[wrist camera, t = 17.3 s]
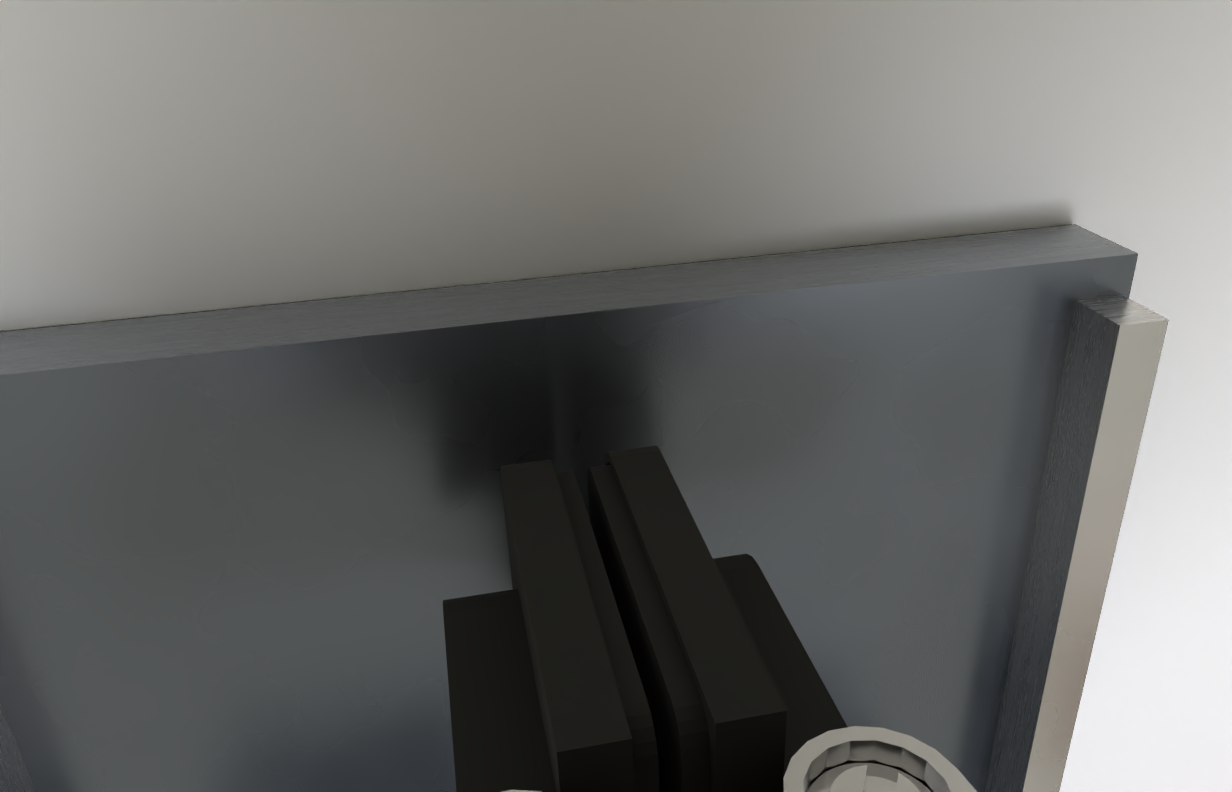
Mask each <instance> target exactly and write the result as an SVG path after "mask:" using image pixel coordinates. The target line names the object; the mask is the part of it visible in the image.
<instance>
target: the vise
mask: <svg viewBox="0 0 1232 792" xmlns="http://www.w3.org/2000/svg"><path fill="white" fill-rule="evenodd" d="M1137 256H1138V253H1136V252H1134V251H1131V250H1129V249H1127V248H1125V247H1123V246H1121V245H1118V244H1116V243H1114V242H1112V241H1110V240H1108V239H1106V238H1103V237H1101V236H1099V235H1097V234H1095V233H1093V232H1091V231H1088V230H1086V229H1084V228H1082V227H1080V226H1078V225H1076V224H1074V225H1064V226H1054V227H1044V228H1034V229H1024V230H1015V231H1005V232H995V233H985V234H975V235H965V236H955V237H945V238H935V239H925V240H915V241H905V242H895V243H885V244H875V245H865V246H855V247H845V248H835V249H825V250H815V251H805V252H795V253H785V254H775V255H765V256H755V257H745V258H735V259H725V260H715V261H705V262H695V263H685V264H675V265H665V266H655V267H645V268H635V269H625V270H615V271H605V272H595V273H585V274H575V275H565V276H555V277H545V278H535V279H525V280H515V281H505V282H495V283H485V284H475V285H465V286H455V287H445V288H435V289H425V290H415V291H405V292H395V293H385V294H375V295H365V296H355V297H345V298H335V299H325V300H315V301H305V302H295V303H285V304H275V305H265V306H255V307H246V308H236V309H226V310H216V311H206V312H196V313H186V314H176V315H166V316H156V317H146V318H136V319H126V320H116V321H106V322H96V323H86V324H76V325H66V326H56V327H46V328H36V329H26V330H16V331H6V332H0V792H456V780H455V766H454V753H453V739H452V726H451V712H450V699H449V685H448V672H447V658H446V645H445V631H444V618H443V600H448V599H454V598H461V597H467V596H474V595H480V594H487V593H493V592H500V591H506V590H513V589H512V579H511V569H510V560H509V550H508V541H507V531H506V522H505V512H504V503H503V493H502V483H501V471H500V466H506V465H513V464H521V463H528V462H535V461H543V460H550V459H551V460H552V462H553V465H554V468H555V472H562V471H570V470H573V471H574V473H575V476H576V479H577V482H578V485H579V488H580V492H581V495H582V498H583V501H584V504H585V507H586V510H587V513H588V517H589V520H590V513H589V496H588V476H587V475H588V468H592V467H599V466H604V461H605V454H606V452H610V451H618V450H625V449H633V448H640V447H648V446H658V448H659V449H660V451H661V453H662V455H663V457H664V459H665V461H666V463H667V465H668V467H669V469H670V472H671V474H672V476H673V478H674V480H675V482H676V484H677V486H678V488H679V490H680V492H681V494H682V496H683V498H684V500H685V502H686V504H687V506H688V508H689V511H690V513H691V515H692V517H693V519H694V521H695V523H696V525H697V527H698V529H699V531H700V533H701V535H702V537H703V539H704V541H705V543H706V545H707V547H708V550H709V552H710V554H711V556H712V558H713V559H714V558H720V557H727V556H733V555H740V554H746V553H747V554H749V555H751V556H752V557H753V558H754V559H755V561H756V562H757V564H758V565H759V567H760V569H761V571H762V572H763V574H764V576H765V578H766V580H767V581H768V583H769V585H770V587H771V589H772V591H773V592H774V594H775V596H776V598H777V600H778V601H779V603H780V605H781V607H782V609H783V610H784V612H785V614H786V616H787V618H788V620H789V621H790V623H791V625H792V627H793V629H794V630H795V632H796V634H797V636H798V638H799V640H800V641H801V643H802V645H803V647H804V649H805V650H806V652H807V654H808V656H809V658H810V660H811V661H812V663H813V665H814V667H815V669H816V670H817V672H818V674H819V676H820V678H821V679H822V681H823V683H824V685H825V687H826V689H827V690H828V692H829V694H830V696H831V698H832V699H833V701H834V703H835V705H836V707H837V709H838V710H839V712H840V714H841V716H842V718H843V719H844V721H845V723H846V725H847V727H852V726H862V727H878V728H885V729H889V730H892V731H896V732H899V733H902V734H906V735H909V736H912V737H914V738H915V739H917V740H919V741H921V742H923V743H925V744H926V745H928V746H930V747H932V748H934V749H936V750H937V751H938V752H939V753H940V754H941V755H943V756H944V757H945V758H946V759H947V760H948V761H949V762H950V763H951V764H953V765H954V766H955V767H956V768H957V769H958V770H959V771H960V772H961V774H962V775H963V776H964V777H965V778H966V779H967V781H968V782H969V783H970V784H971V785H972V786H973V787H974V789H975V790H976V791H977V792H1059V790H1060V786H1061V781H1062V777H1063V773H1064V768H1065V764H1066V760H1067V755H1068V751H1069V747H1070V743H1071V738H1072V734H1073V730H1074V725H1075V721H1076V717H1077V712H1078V708H1079V704H1080V699H1081V695H1082V691H1083V687H1084V682H1085V678H1086V674H1087V669H1088V665H1089V661H1090V656H1091V652H1092V648H1093V643H1094V639H1095V635H1096V631H1097V626H1098V622H1099V618H1100V613H1101V609H1102V605H1103V600H1104V596H1105V592H1106V587H1107V583H1108V579H1109V575H1110V570H1111V566H1112V562H1113V557H1114V553H1115V549H1116V544H1117V540H1118V536H1119V531H1120V527H1121V523H1122V519H1123V514H1124V510H1125V506H1126V501H1127V497H1128V493H1129V488H1130V484H1131V480H1132V475H1133V471H1134V467H1135V463H1136V458H1137V454H1138V450H1139V445H1140V441H1141V437H1142V432H1143V428H1144V424H1145V419H1146V415H1147V411H1148V407H1149V402H1150V398H1151V394H1152V389H1153V385H1154V381H1155V376H1156V372H1157V368H1158V364H1159V359H1160V355H1161V351H1162V346H1163V342H1164V338H1165V333H1166V329H1167V325H1168V319H1166V318H1164V317H1162V316H1161V315H1159V314H1157V313H1155V312H1153V311H1151V310H1149V309H1147V308H1145V307H1144V306H1142V305H1140V304H1138V303H1136V302H1134V301H1132V300H1130V299H1129V294H1130V290H1131V285H1132V280H1133V275H1134V271H1135V266H1136V261H1137Z"/></svg>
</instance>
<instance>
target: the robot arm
mask: <svg viewBox="0 0 1232 792" xmlns="http://www.w3.org/2000/svg"><path fill="white" fill-rule="evenodd" d="M500 471H501V483H502V493H503V503H504V512H505V522H506V531H507V541H508V550H509V560H510V569H511V579H512V589H513V590H506V591H500V592H493V593H487V594H480V595H474V596H467V597H461V598H454V599H448V600H443V618H444V631H445V645H446V658H447V672H448V685H449V699H450V712H451V726H452V739H453V753H454V766H455V780H456V792H977V791H976V790H975V789H974V787H973V786H972V785H971V784H970V783H969V782H968V781H967V779H966V778H965V777H964V776H963V775H962V774H961V772H960V771H959V770H958V769H957V768H956V767H955V766H954V765H953V764H951V763H950V762H949V761H948V760H947V759H946V758H945V757H944V756H943V755H941V754H940V753H939V752H938V751H937V750H936V749H934V748H932V747H930V746H928V745H926V744H925V743H923V742H921V741H919V740H917V739H915V738H914V737H912V736H909V735H906V734H902V733H899V732H896V731H892V730H889V729H885V728H878V727H862V726H852V727H847V725H846V723H845V721H844V719H843V718H842V716H841V714H840V712H839V710H838V709H837V707H836V705H835V703H834V701H833V699H832V698H831V696H830V694H829V692H828V690H827V689H826V687H825V685H824V683H823V681H822V679H821V678H820V676H819V674H818V672H817V670H816V669H815V667H814V665H813V663H812V661H811V660H810V658H809V656H808V654H807V652H806V650H805V649H804V647H803V645H802V643H801V641H800V640H799V638H798V636H797V634H796V632H795V630H794V629H793V627H792V625H791V623H790V621H789V620H788V618H787V616H786V614H785V612H784V610H783V609H782V607H781V605H780V603H779V601H778V600H777V598H776V596H775V594H774V592H773V591H772V589H771V587H770V585H769V583H768V581H767V580H766V578H765V576H764V574H763V572H762V571H761V569H760V567H759V565H758V564H757V562H756V561H755V559H754V558H753V557H752V556H751V555H749V554H747V553H746V554H740V555H733V556H727V557H720V558H714V559H713V558H712V556H711V554H710V552H709V550H708V547H707V545H706V543H705V541H704V539H703V537H702V535H701V533H700V531H699V529H698V527H697V525H696V523H695V521H694V519H693V517H692V515H691V513H690V511H689V508H688V506H687V504H686V502H685V500H684V498H683V496H682V494H681V492H680V490H679V488H678V486H677V484H676V482H675V480H674V478H673V476H672V474H671V472H670V469H669V467H668V465H667V463H666V461H665V459H664V457H663V455H662V453H661V451H660V449H659V448H658V446H648V447H640V448H633V449H625V450H618V451H610V452H606V454H605V461H604V466H599V467H592V468H588V475H587V476H588V496H589V513H590V520H589V517H588V513H587V510H586V507H585V504H584V501H583V498H582V495H581V492H580V488H579V485H578V482H577V479H576V476H575V473H574V471H573V470H570V471H562V472H555V468H554V465H553V462H552V460H551V459H550V460H543V461H535V462H528V463H521V464H513V465H506V466H500Z"/></svg>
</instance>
